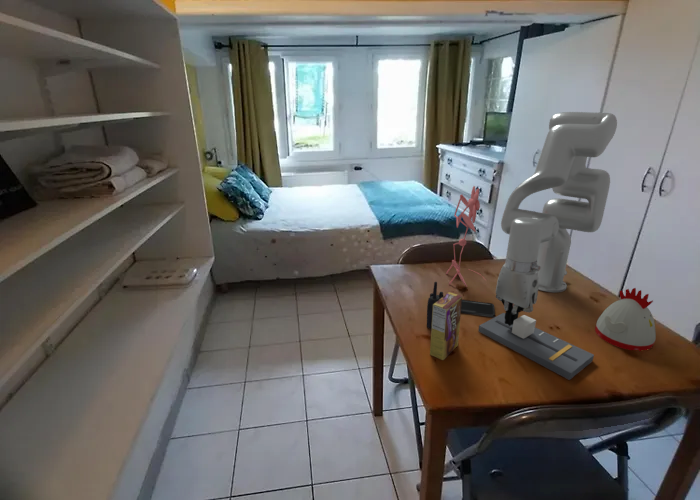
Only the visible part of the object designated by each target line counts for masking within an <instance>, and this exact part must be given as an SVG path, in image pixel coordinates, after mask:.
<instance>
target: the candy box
mask: <svg viewBox="0 0 700 500" xmlns="http://www.w3.org/2000/svg"><path fill="white" fill-rule="evenodd" d="M462 300H463V296H462V295H460V294H457V293H453V292H451V291H449V292H447V293H446V294H444V295H443V297H442V298H441V299H440V300H438V301H437V302H436V303H435V304H433V312H432V328H431V329H430V330H431V331H430V347H429V348H430V349H429V355H430V356H432V357H435V358H437V359H439V360H441V361H444V360H445V359H446V358H447V357H448V356H449V355H450V354H451V353H452V352H453V351H454V350H455V349H456V347H458V346H459V341H460V340H459V338H460V337H459V335H460V328H461V327H460V325H461V314H462V313H461V303H462Z"/></svg>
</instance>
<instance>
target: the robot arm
mask: <svg viewBox="0 0 700 500" xmlns="http://www.w3.org/2000/svg"><path fill="white" fill-rule="evenodd" d="M548 123H549V124H548V130H549V131H548V132H547V134H546V138H545V141H544V143H543V147H542V148H541V152H540V156H539V159H538V161H537V165H536V167H535V171H534V173H533V174H532V175H531V176H529V177H528V178H526V179H525V180H523V181H522V182H520V184H518V186H517V187H516V188H515V189H514V190H513V191H512V192H511V194H510V195H509V197H508V198H507V201H506V204H505V208H504V211H503V213H502V216H501V217H502V218H501V223H500V226H501V230H502V231H503V232H504V233H505V234H506V235H509V236H508V237H509V238H508V243H507V249H506V250H507V251H506V256H505V263H504V264H503V265H502V267H501V269H500V271H499V274H498V277H497V281H496V287H495V294H496V295H495V298H496V300H499V301H500V302H501V303H502V305H503V309H504V311H505V312H504V313H505V324H508V325H509V326H511V325H513V322H514V320H515V319H517V318H519V314H520V312H524V313H525V312H526V313H532V312H533V311H534V307H533V306H534V305H535V304H537V301H538V295H539V294H538V292H539V291H543V292H545V293H546V292H547V293H562V292H564V291H566V289H567V287H568V285H567V283H566V281H564V277H565V276H567V274H568V272H567V270H566V268H567V263H568V258H569V255H570V251H571V245H572V238H571V235H570V234H569V231H568V230H571V231H577V232H584V233H594V232H596V231H598V230H599V229H600V227H601V225H602V221H603V218H604V214H605V209H606V204H607V201H608V200H607V199H608V195H609V191H610V187H611V185H610V184H611V177H610V173H609V172H608V171H607V170H604V169H599V168H590V167H589V168H588V167H587V166H586V165H587V159H588V158H597V157H600V156H601V155H602V154H603V153H604V151H605V150H606V149H607V147H608V145H609V144H610V142H611V141H612V139H613V138H614V136H615V133H616V130H617V127H618V120H617V117H616V115H615V114H613V113H611V112H610V113H609V112H588V111H587V112H586V111H585V112H584V111H581V112H580V111H565V112H557V113H555V114H553V115H552V116H551V117H550V119H549V122H548ZM550 189H551V190H552V192H553V193H554V194H556V195H558V196H562V197H567V198H568V197H569V198H577V199H583V200H587V201H580V200H577V199H576V200H574V199H567V198H550V199H548V200H546V201H545V203H544V204H543V207H542V212H540V211H534V210H533V211H532V210H527V209H520V208H519V207H520V206H521V203H522V202H523V201H524V200H525V199H526V198H527V197H529V196H532V195H533V194H536V193H538V192H541V191H546V190H550Z"/></svg>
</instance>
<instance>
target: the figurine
mask: <svg viewBox="0 0 700 500" xmlns="http://www.w3.org/2000/svg"><path fill="white" fill-rule="evenodd" d="M479 194H480V188H479V187H478V188H477V189H476V186H475V185H473V187H472V188H471V193H470V198H469V199H466V197H465V196H464V195H463V194H460V196H459V199H458V202H457V205H456V208H455V211H454V215H453V216H454V217H455V220H456V228H457V229H458V228H459V225H460V223H461V224H462V225H464V226H465V227H466V228H465V229H466V230H465V234H464V237H463V238H461V239H459V241H458V242H455V243H453V256H454V257H453V258H454V259H452V260H451V265H450V266H449V268H448V270H447V271H446V272H445V275H448V273H449V272H450V270H451V269H452V268H453V267H454V268H455V270H456V273H455V274H454V276H453V277H452V279H451V280H450V281H449V282H448V285H451V284H452V283H453V281H454V280H455V278H456V277H457V276H458V277H459V278H460V281H461V282H462V284H463V285H464V286H465V287H466V288H467V287H468V285H467V283H466V280H465V279H464V276H463V275H462V274H461V259H462V253H463V251H464V247H465V246H466V245H467V239H466V237H467V233H468V230H469V229H470V230H471V231H473V232H474V233H476V231H477V230H476V228H475V226H474V225H475V221H476V219H477V211H479V210H480V208H481V204H480V201H479V196H480V195H479ZM461 202H462V203H463V204H464V206H465V208H464V209H463V211H461V212H460V214H459V216H457V212H458V209H459V206H460V204H461ZM467 209H469V211H468V215H467V214H466V213H465V211H467ZM462 220H463V221H462ZM456 245H459V246H461V247H462V248H461V251H460V253H459V263H457V261H456V251H455V250H456V249H455V248H456V247H455V246H456ZM468 270H469V271H473V272H474V273H476V274H478V275H480V276H481V277H482V278H483V280H485V281H488V279H487V278H485V277H484V276H482V275H481V273H480V272H477V271H474V270H472V269H469V268H468ZM485 286H487V284H486V285H485ZM453 292H455V291H453V290H451V293H453Z"/></svg>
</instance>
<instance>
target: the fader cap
mask: <svg viewBox="0 0 700 500" xmlns="http://www.w3.org/2000/svg"><path fill="white" fill-rule="evenodd" d="M536 323H537V320H536V319H535V318H532V317H530V316H528V315H525V314H523V315H521V316H518V318H517V319H515V320H514V322H513V328H512V333H513V334H515V335H517V336H519V337H521V338H523V339H524V338H526V337H528V336H529V335H531V334H532V333H534V329H535V328H536Z"/></svg>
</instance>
